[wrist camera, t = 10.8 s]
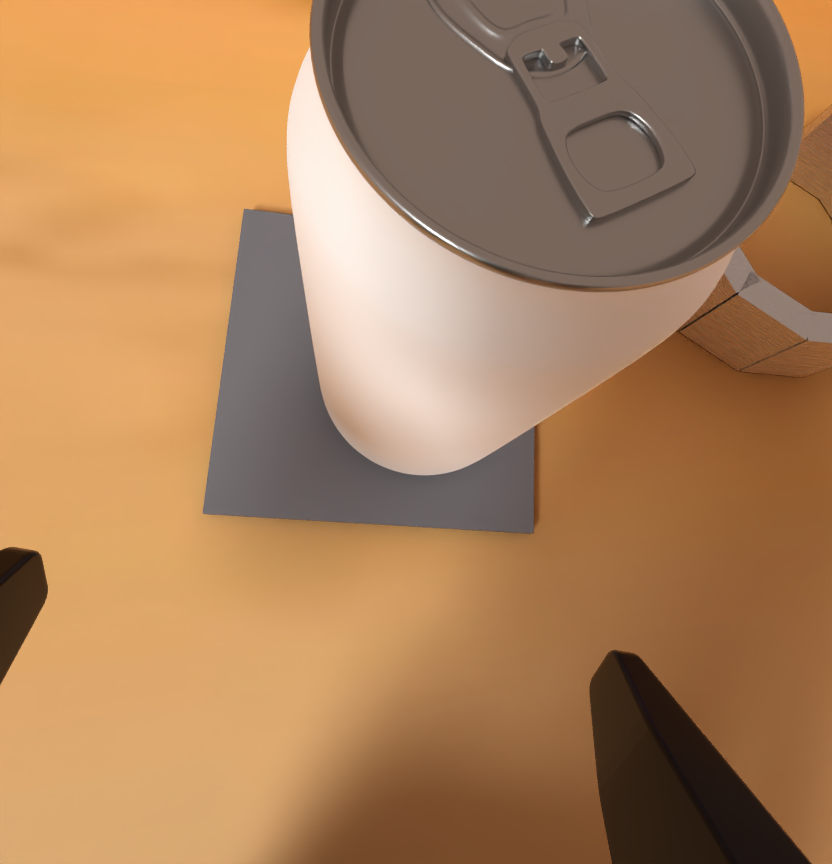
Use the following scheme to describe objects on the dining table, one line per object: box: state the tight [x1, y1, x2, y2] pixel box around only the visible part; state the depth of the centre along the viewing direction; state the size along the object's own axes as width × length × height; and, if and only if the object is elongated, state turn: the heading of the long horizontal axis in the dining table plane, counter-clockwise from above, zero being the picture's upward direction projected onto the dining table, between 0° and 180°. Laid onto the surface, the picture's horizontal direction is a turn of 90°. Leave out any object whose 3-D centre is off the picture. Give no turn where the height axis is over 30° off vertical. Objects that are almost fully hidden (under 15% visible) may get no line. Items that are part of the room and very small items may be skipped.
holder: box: [677, 105, 832, 377], centre depth 19 cm, size 10×10×3 cm
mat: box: [203, 209, 534, 534], centre depth 18 cm, size 10×10×1 cm
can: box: [287, 0, 804, 475], centre depth 12 cm, size 6×6×12 cm
